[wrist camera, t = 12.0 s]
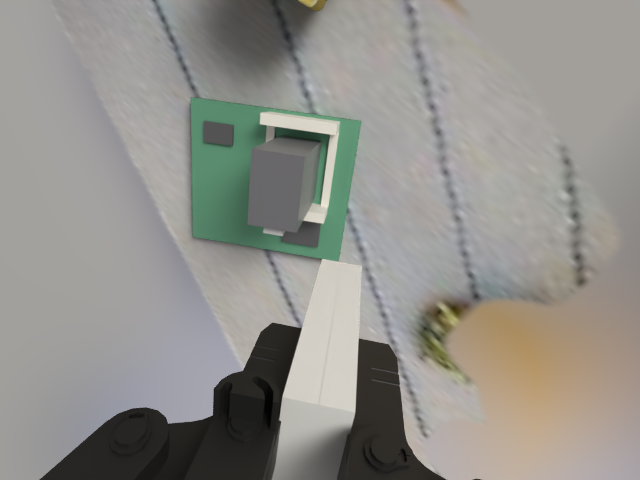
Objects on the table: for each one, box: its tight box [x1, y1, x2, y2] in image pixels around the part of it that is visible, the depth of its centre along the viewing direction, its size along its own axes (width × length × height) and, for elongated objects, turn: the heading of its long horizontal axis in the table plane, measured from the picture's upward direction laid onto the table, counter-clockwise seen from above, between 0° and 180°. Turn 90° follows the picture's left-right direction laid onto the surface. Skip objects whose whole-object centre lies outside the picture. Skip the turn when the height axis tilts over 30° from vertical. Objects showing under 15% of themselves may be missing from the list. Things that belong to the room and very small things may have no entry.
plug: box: [248, 135, 322, 236], centre depth 32 cm, size 7×4×10 cm, turn 173°
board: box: [191, 98, 361, 261], centre depth 36 cm, size 15×17×4 cm
